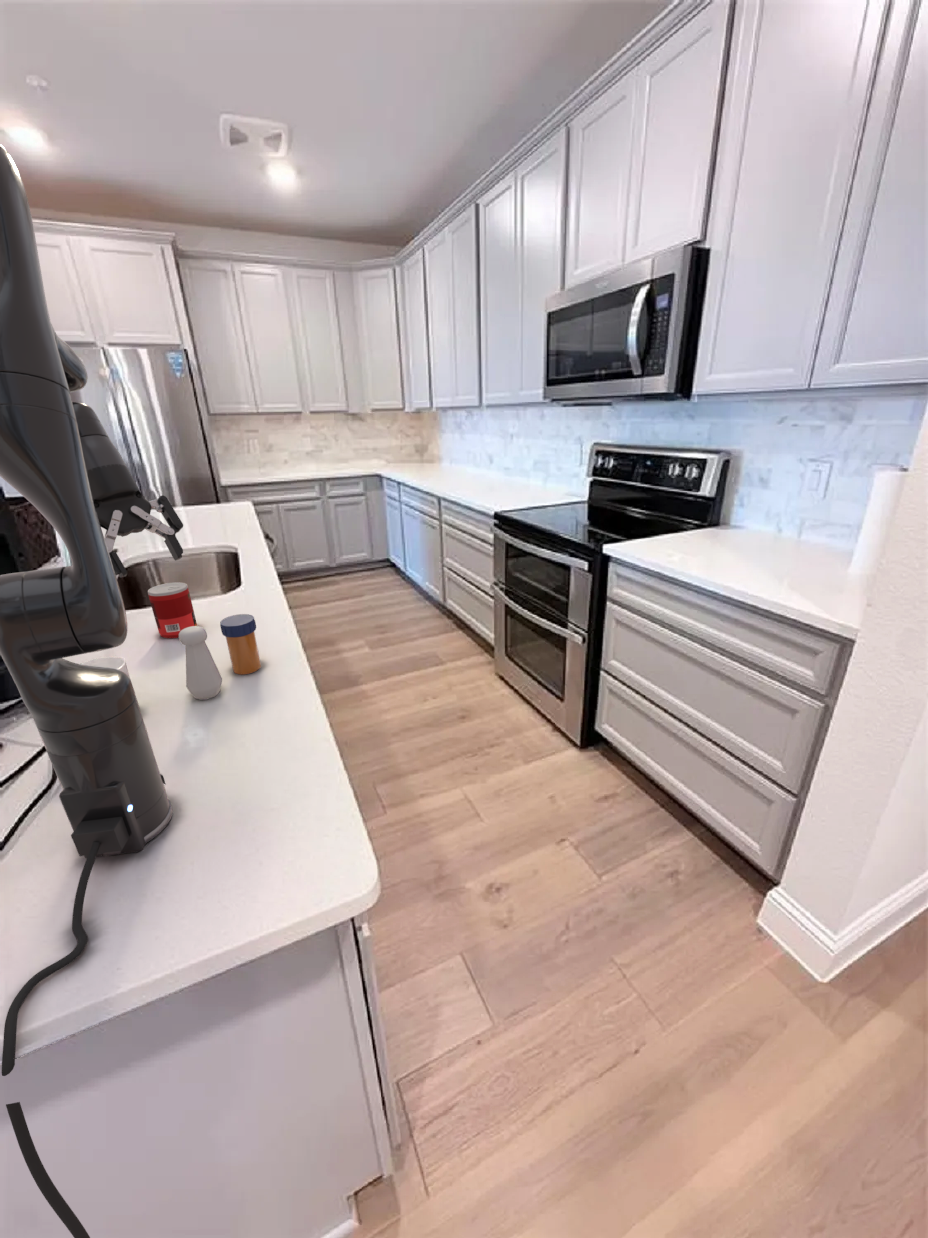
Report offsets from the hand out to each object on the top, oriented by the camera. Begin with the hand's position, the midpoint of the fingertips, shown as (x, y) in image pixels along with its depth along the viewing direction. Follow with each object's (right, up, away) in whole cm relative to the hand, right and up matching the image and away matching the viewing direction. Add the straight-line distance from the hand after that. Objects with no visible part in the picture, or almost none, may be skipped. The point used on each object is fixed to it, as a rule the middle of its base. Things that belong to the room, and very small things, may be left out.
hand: (152, 567), depth 82 cm
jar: (+7, -18, +19) cm, 27 cm away
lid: (+7, -9, +15) cm, 19 cm away
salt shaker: (+4, -22, +10) cm, 25 cm away
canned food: (-16, -12, +36) cm, 42 cm away
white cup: (-8, -26, +3) cm, 27 cm away
